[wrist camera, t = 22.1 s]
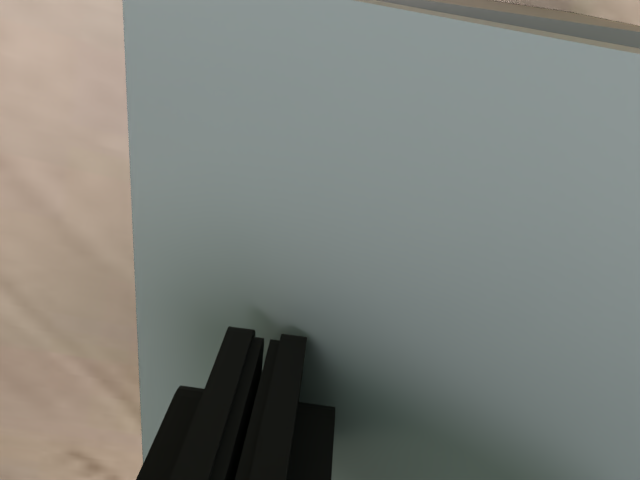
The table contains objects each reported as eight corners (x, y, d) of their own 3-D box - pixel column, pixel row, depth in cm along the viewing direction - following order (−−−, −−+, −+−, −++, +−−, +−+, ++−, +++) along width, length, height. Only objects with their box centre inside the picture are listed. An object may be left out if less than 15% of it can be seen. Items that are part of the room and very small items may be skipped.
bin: (468, 326, 29) (523, 510, 19) (235, 291, 29) (169, 456, 19) (572, 12, 21) (751, 48, 11) (255, -35, 21) (164, -39, 11)
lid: (505, 801, 12) (488, 849, 11) (167, 457, 19) (143, 474, 18) (1050, 124, 5) (1099, 139, 4) (162, -39, 11) (120, -44, 11)
